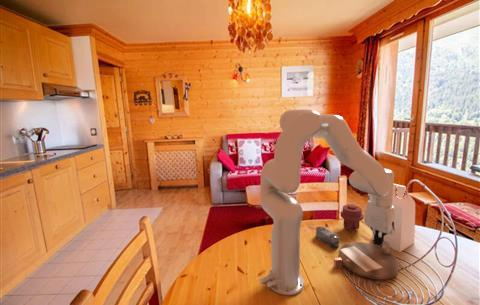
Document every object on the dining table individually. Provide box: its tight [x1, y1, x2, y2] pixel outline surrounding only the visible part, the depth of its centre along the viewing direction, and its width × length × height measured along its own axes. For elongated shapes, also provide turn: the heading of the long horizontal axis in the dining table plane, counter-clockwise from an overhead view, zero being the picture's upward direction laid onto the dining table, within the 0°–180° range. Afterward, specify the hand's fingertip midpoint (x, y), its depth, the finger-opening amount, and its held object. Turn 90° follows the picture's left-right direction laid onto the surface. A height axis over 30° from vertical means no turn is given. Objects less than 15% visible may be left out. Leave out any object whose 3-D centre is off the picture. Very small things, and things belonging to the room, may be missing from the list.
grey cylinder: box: [315, 226, 340, 249], centre depth 109 cm, size 4×12×4 cm, turn 26°
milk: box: [371, 183, 416, 253], centre depth 106 cm, size 12×12×26 cm
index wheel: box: [338, 241, 399, 280], centre depth 92 cm, size 20×20×6 cm
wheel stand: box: [333, 256, 343, 270], centre depth 92 cm, size 15×8×4 cm, turn 116°
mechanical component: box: [340, 203, 364, 234], centre depth 118 cm, size 12×10×10 cm
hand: (378, 244), depth 97 cm, fingers closed
